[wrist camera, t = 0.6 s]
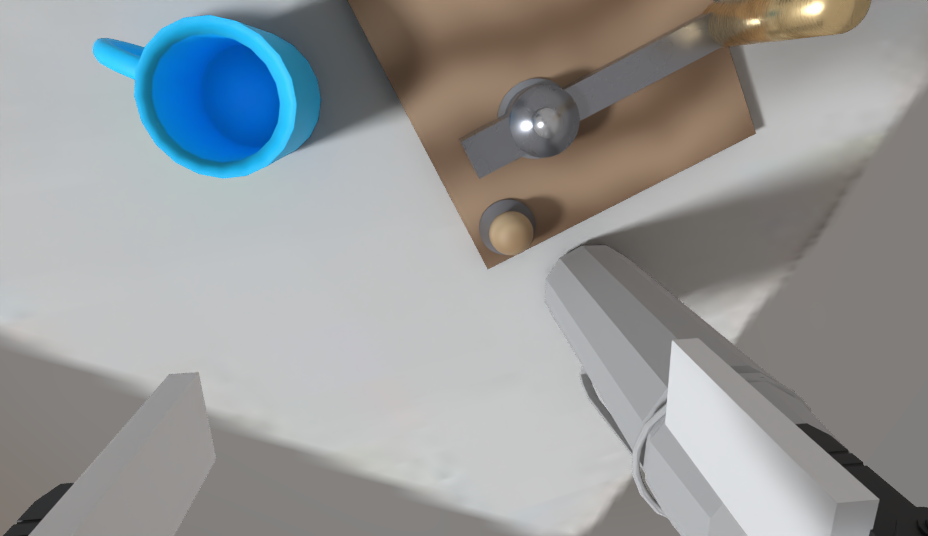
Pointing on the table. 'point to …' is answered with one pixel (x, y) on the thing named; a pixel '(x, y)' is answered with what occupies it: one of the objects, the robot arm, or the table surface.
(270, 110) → the mug
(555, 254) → the table surface
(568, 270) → the water bottle
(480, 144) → the lever
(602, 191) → the nutcracker base
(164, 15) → the table surface
